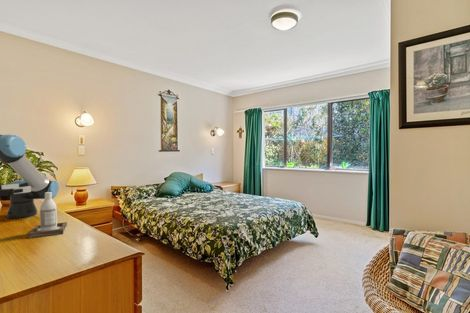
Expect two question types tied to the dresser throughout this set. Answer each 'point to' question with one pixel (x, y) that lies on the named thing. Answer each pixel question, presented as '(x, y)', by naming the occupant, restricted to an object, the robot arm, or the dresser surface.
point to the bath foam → (48, 213)
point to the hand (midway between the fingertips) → (24, 187)
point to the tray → (38, 233)
